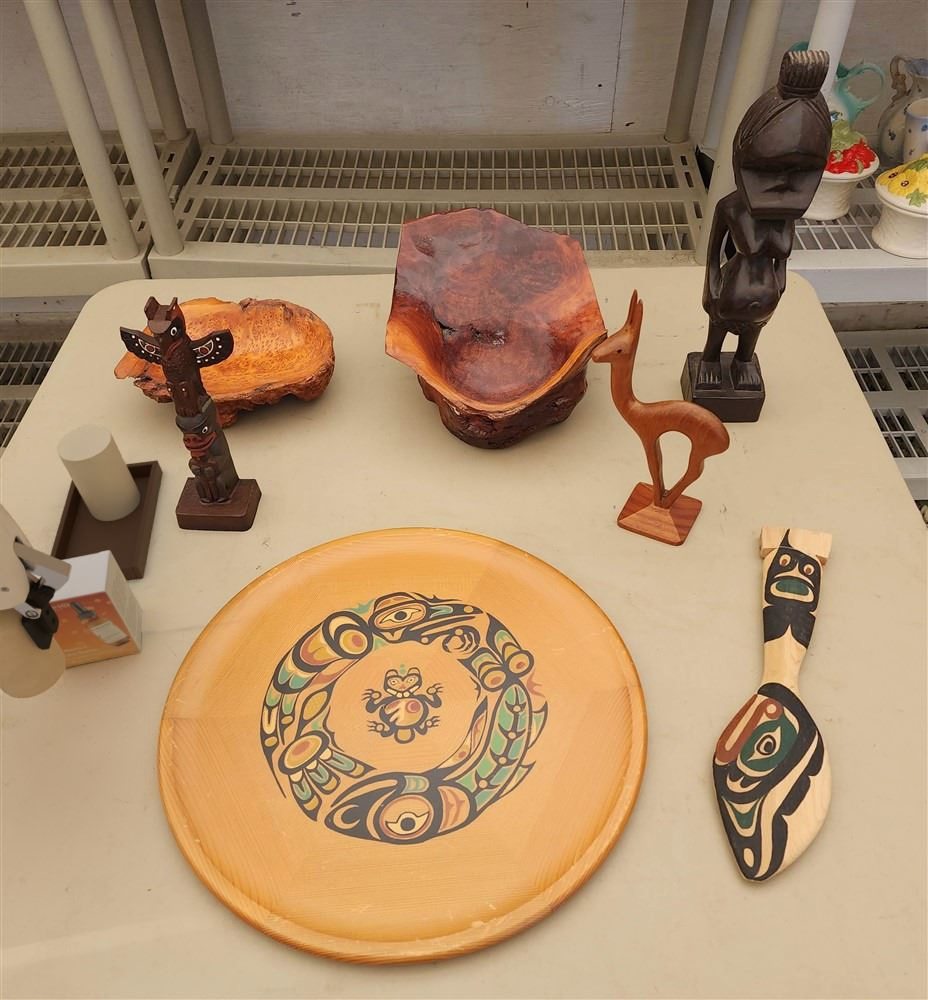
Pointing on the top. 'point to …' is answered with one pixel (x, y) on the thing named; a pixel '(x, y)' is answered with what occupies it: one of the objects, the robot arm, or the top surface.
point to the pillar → (99, 472)
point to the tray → (112, 525)
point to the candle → (26, 659)
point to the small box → (96, 611)
